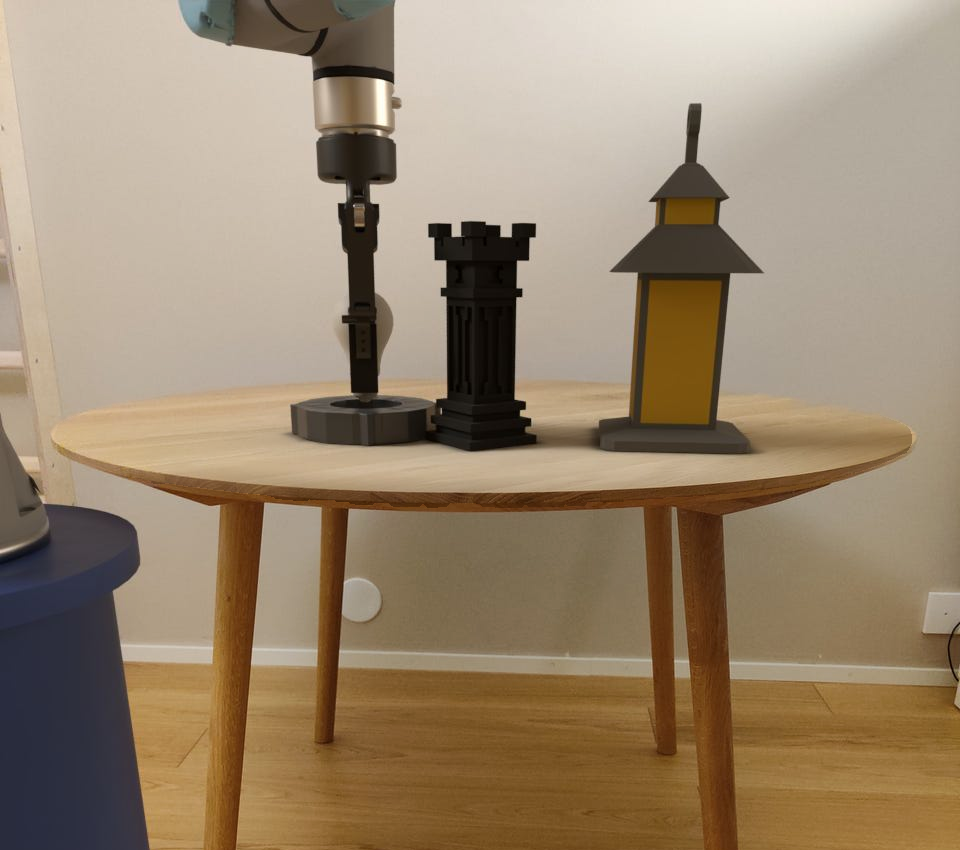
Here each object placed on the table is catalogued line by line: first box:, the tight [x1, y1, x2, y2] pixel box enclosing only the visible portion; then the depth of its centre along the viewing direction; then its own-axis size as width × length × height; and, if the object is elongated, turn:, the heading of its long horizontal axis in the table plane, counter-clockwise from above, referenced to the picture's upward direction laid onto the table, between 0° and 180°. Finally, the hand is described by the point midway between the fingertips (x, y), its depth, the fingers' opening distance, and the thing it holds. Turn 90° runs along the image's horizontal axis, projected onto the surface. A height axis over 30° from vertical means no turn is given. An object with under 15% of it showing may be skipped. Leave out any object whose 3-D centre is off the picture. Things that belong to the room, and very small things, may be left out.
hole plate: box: [289, 394, 442, 446], centre depth 99 cm, size 14×14×3 cm
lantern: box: [598, 102, 765, 455], centre depth 91 cm, size 14×14×30 cm
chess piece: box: [425, 220, 538, 452], centre depth 92 cm, size 8×8×20 cm
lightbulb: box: [331, 291, 394, 402], centre depth 97 cm, size 6×6×11 cm
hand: (364, 388), depth 98 cm, fingers closed on lightbulb, 6 cm apart
